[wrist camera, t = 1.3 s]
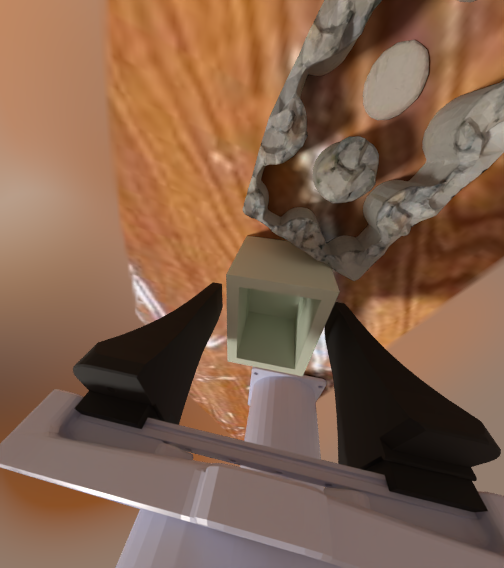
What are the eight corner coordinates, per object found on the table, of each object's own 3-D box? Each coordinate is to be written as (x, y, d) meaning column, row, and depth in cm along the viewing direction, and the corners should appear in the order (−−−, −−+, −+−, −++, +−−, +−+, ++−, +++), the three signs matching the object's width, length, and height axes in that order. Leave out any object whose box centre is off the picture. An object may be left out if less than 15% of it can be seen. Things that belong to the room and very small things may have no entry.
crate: (299, 320, 16) (302, 376, 12) (242, 310, 17) (227, 361, 13) (323, 244, 12) (340, 291, 8) (247, 234, 13) (226, 274, 8)
